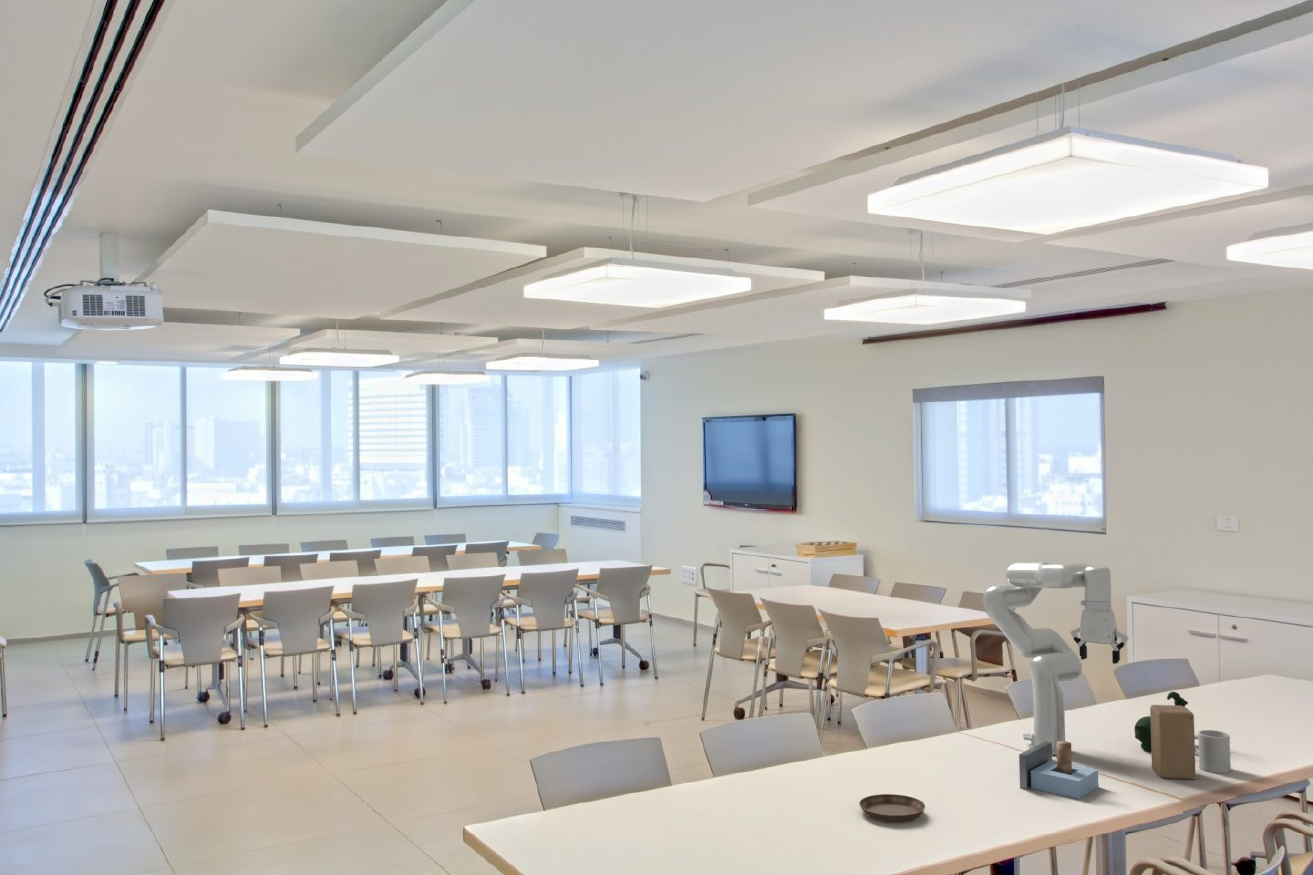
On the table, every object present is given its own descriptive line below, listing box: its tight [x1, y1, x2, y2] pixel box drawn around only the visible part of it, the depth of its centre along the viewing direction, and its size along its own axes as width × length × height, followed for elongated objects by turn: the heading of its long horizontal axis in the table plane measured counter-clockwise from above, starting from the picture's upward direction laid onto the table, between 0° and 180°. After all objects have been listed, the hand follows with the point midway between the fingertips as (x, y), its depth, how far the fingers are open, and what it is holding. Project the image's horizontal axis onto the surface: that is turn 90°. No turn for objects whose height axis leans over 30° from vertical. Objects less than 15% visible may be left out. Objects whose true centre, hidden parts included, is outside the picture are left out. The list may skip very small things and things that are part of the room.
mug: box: [1194, 729, 1232, 775], centre depth 307 cm, size 12×8×11 cm
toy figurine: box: [1134, 691, 1189, 753], centre depth 329 cm, size 9×19×25 cm
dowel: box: [1056, 740, 1073, 775], centre depth 291 cm, size 4×4×12 cm
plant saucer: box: [858, 793, 926, 824], centre depth 272 cm, size 18×18×3 cm
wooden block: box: [1149, 704, 1197, 780], centre depth 302 cm, size 10×10×20 cm
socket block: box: [1030, 759, 1100, 800], centre depth 291 cm, size 14×14×5 cm
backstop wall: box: [1018, 741, 1053, 790], centre depth 297 cm, size 2×18×10 cm, turn 135°
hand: (1099, 660), depth 309 cm, fingers open, 9 cm apart
